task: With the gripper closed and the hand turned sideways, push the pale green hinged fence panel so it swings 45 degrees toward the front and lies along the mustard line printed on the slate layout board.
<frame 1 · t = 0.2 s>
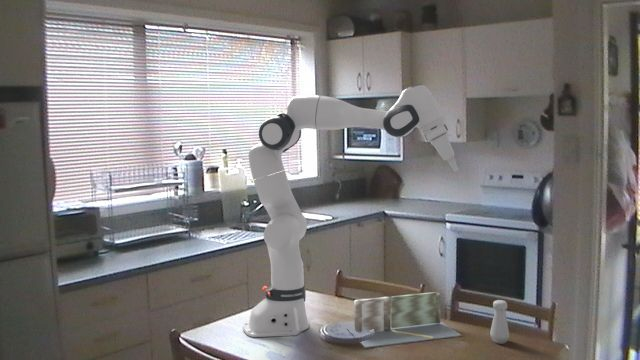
hand: (456, 169, 193), 54 cm above the table, tool tilted 30°, fingers open, 8 cm apart
layout board: (402, 332, 202), on the table
salt shaker: (499, 342, 193), on the table
beige patterned panel: (372, 332, 202), resting on layout board
green fence panel: (416, 309, 206), point 6 cm above the table, hinge at 0.0°
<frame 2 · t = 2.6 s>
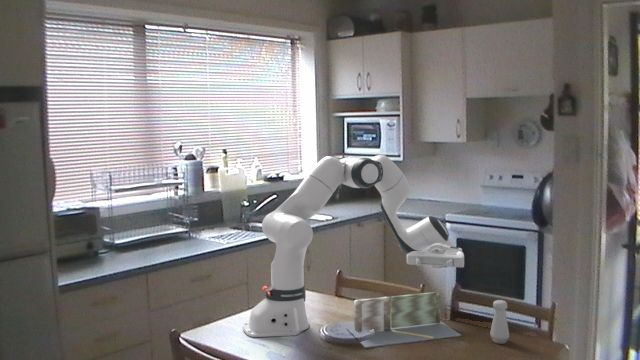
hand: (432, 264, 211), 20 cm above the table, tool horizontal, fingers open, 8 cm apart
nothing on the table moved.
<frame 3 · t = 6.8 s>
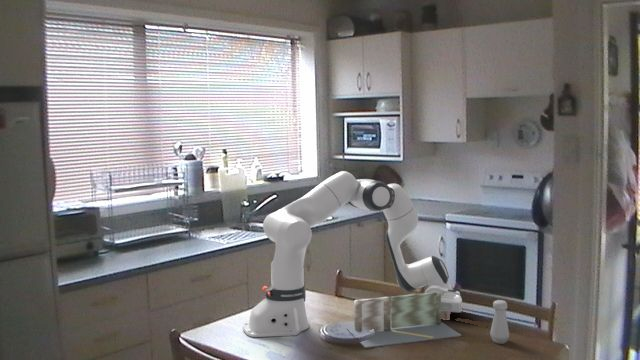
hand: (430, 309, 209), 5 cm above the table, tool horizontal, fingers closed
green fence panel: (416, 309, 206), point 6 cm above the table, hinge at -1.0°, touching gripper
everything else where it was.
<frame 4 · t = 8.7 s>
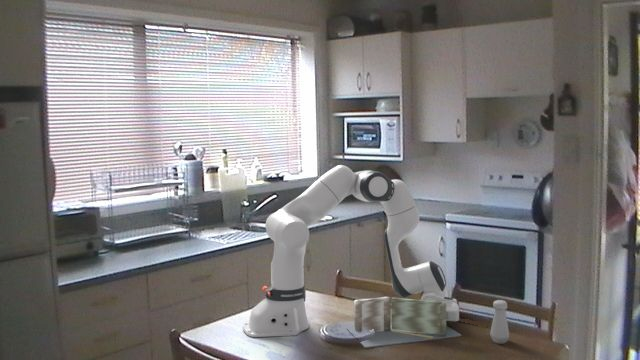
hand: (425, 318, 199), 5 cm above the table, tool horizontal, fingers closed
green fence panel: (418, 316, 199), point 6 cm above the table, hinge at -36.6°, touching gripper
everything else where it was.
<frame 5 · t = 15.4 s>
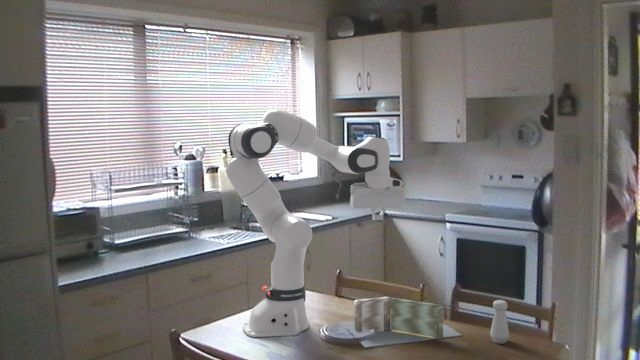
hand: (377, 219, 221), 34 cm above the table, tool pointing down, fingers closed
green fence panel: (416, 317, 198), point 6 cm above the table, hinge at -47.2°
everything else where it was.
at the end: green fence panel at -47° (first picture: +0°) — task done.
